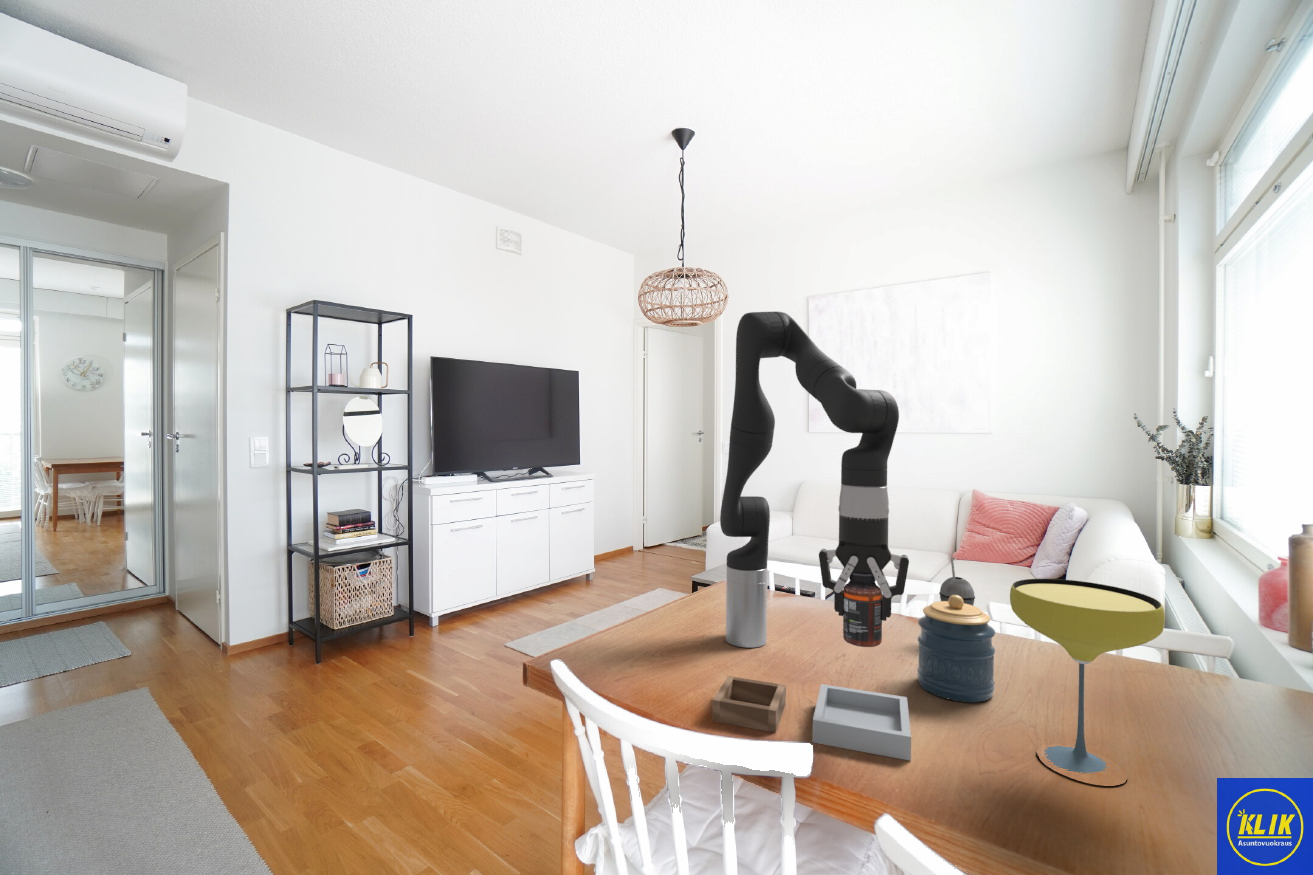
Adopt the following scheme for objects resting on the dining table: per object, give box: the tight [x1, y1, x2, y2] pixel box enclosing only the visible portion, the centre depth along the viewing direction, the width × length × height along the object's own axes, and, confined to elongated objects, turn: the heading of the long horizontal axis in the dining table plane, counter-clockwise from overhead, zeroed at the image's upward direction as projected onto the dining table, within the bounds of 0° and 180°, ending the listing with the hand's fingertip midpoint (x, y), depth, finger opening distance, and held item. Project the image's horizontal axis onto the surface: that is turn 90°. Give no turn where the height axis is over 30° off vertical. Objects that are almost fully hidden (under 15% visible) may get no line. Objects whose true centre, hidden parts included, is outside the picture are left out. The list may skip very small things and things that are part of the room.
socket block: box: [712, 675, 787, 733], centre depth 101 cm, size 10×10×4 cm
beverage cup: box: [939, 557, 976, 606], centre depth 133 cm, size 7×7×20 cm
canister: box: [917, 595, 996, 703], centre depth 111 cm, size 13×13×18 cm
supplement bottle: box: [842, 573, 883, 648], centre depth 95 cm, size 6×6×11 cm
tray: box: [812, 683, 912, 762], centre depth 95 cm, size 14×14×4 cm
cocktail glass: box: [1009, 578, 1166, 774], centre depth 86 cm, size 18×18×25 cm
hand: (862, 616), depth 95 cm, fingers closed on supplement bottle, 6 cm apart
